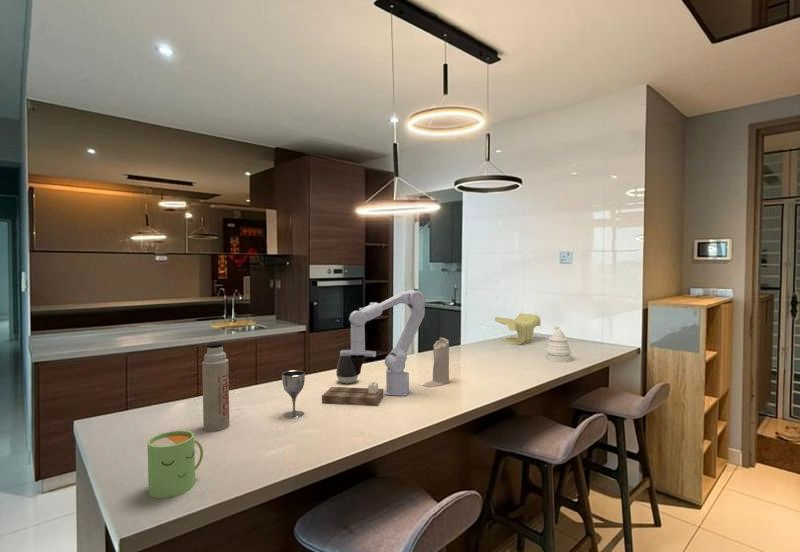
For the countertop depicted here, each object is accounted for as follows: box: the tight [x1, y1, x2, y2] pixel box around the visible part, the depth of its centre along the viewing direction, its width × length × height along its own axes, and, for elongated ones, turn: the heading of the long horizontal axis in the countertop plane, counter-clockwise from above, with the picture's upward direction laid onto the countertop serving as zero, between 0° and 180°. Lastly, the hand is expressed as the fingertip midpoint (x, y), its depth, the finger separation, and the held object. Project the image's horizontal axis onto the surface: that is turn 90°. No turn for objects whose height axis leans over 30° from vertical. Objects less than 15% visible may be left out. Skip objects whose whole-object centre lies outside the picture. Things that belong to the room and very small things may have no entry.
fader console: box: [321, 386, 384, 407], centre depth 172 cm, size 22×12×3 cm, turn 81°
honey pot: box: [545, 326, 572, 363], centre depth 239 cm, size 13×13×18 cm
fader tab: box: [367, 382, 379, 394], centre depth 170 cm, size 3×4×3 cm
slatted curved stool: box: [494, 312, 541, 345], centre depth 291 cm, size 30×16×18 cm, turn 131°
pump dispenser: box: [335, 348, 360, 385], centre depth 197 cm, size 10×10×15 cm
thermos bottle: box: [201, 342, 231, 433], centre depth 144 cm, size 8×8×28 cm
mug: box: [147, 430, 204, 499], centre depth 106 cm, size 13×10×12 cm
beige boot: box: [422, 337, 450, 388], centre depth 193 cm, size 7×14×20 cm, turn 131°
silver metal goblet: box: [281, 369, 306, 419], centre depth 155 cm, size 8×8×15 cm
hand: (358, 373), depth 175 cm, fingers closed
